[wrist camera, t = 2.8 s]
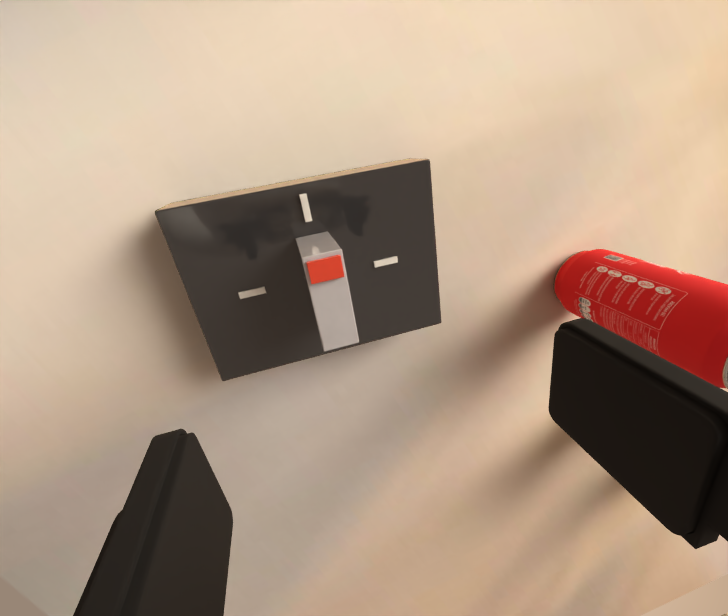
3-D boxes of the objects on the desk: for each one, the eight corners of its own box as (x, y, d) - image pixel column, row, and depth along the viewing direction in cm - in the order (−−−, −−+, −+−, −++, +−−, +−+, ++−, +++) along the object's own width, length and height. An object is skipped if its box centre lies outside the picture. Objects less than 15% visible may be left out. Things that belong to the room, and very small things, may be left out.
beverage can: (549, 256, 27) (736, 324, 16) (609, 237, 28) (825, 291, 17) (548, 315, 29) (711, 410, 18) (603, 297, 30) (791, 378, 19)
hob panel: (227, 356, 24) (221, 383, 21) (168, 203, 20) (152, 211, 17) (424, 305, 26) (443, 324, 23) (410, 158, 22) (431, 159, 19)
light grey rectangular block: (344, 310, 21) (360, 345, 17) (314, 318, 21) (324, 354, 17) (328, 230, 19) (343, 250, 15) (294, 238, 19) (301, 259, 15)
